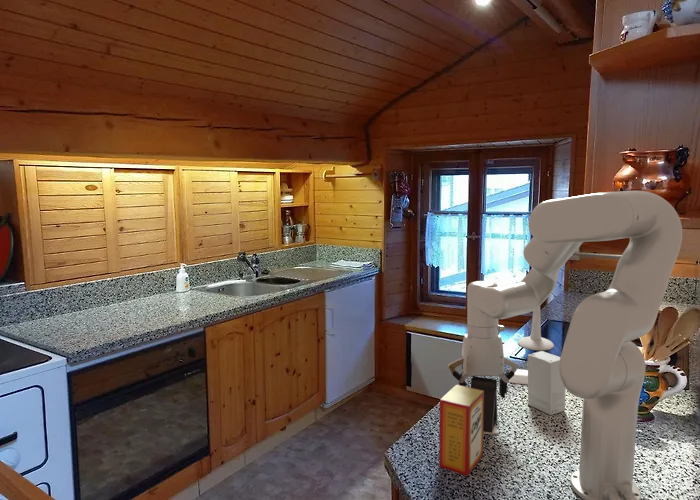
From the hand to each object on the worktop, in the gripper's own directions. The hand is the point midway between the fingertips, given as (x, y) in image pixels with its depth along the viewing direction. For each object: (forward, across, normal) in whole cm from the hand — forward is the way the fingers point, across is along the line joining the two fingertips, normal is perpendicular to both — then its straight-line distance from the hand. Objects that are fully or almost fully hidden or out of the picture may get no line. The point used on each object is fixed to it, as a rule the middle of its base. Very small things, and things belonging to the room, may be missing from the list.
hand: (482, 396), depth 126 cm
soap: (+8, -18, -30) cm, 36 cm away
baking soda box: (+8, +8, +17) cm, 20 cm away
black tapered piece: (+8, 0, 0) cm, 8 cm away
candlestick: (+7, -32, -64) cm, 72 cm away
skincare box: (+8, -19, -11) cm, 23 cm away
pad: (+8, 0, -1) cm, 8 cm away
